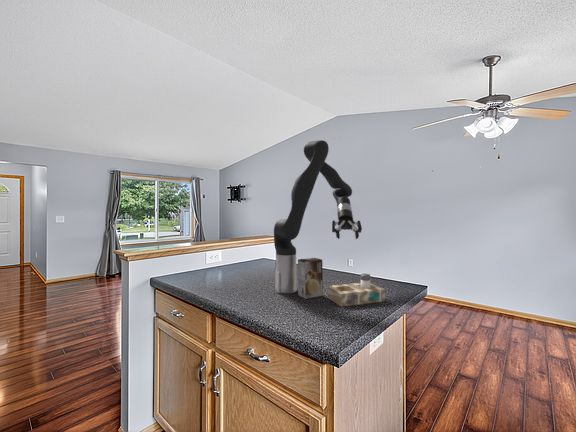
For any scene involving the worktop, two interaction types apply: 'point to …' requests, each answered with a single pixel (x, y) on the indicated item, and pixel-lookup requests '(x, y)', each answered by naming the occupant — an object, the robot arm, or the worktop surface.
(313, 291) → the coffee box
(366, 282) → the plug
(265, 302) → the worktop surface
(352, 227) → the robot arm
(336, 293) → the socket block
